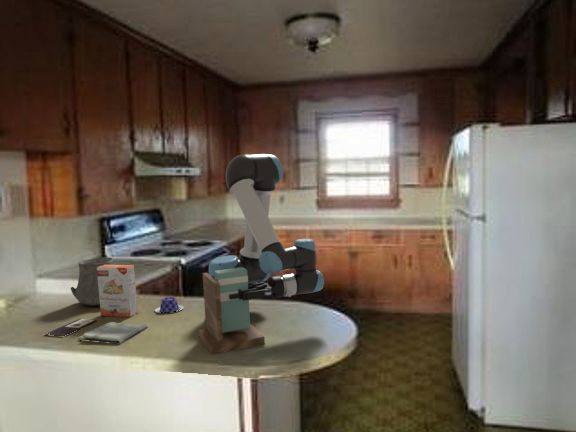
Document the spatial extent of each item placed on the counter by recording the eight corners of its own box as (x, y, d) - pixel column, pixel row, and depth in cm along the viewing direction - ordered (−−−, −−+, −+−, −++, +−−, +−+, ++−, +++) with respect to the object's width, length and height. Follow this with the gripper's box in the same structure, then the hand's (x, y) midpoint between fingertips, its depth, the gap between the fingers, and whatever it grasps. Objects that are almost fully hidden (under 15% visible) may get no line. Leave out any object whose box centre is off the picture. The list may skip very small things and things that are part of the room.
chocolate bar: (43, 334, 174) (78, 318, 191) (43, 337, 174) (79, 321, 191) (63, 336, 171) (97, 320, 188) (63, 338, 171) (97, 322, 188)
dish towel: (149, 328, 178) (149, 320, 178) (120, 346, 161) (119, 337, 161) (108, 326, 183) (107, 318, 183) (75, 342, 166) (74, 334, 166)
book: (217, 328, 160) (214, 270, 158) (245, 323, 164) (242, 267, 162) (221, 332, 156) (217, 273, 153) (250, 327, 159) (247, 269, 157)
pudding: (152, 309, 202) (151, 297, 202) (179, 304, 208) (179, 293, 207) (158, 316, 192) (157, 304, 191) (187, 311, 197) (186, 299, 197)
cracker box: (100, 316, 194) (95, 267, 192) (108, 312, 200) (104, 264, 198) (130, 318, 191) (126, 267, 188) (138, 313, 196) (134, 264, 194)
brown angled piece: (248, 327, 172) (244, 267, 170) (264, 344, 156) (261, 277, 154) (199, 336, 166) (195, 274, 163) (211, 354, 149) (207, 285, 147)
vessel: (80, 314, 199) (76, 267, 197) (69, 303, 217) (65, 260, 215) (131, 303, 212) (128, 259, 210) (116, 294, 230) (113, 253, 227)
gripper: (291, 303, 157) (224, 314, 149) (272, 290, 174) (211, 300, 165) (290, 281, 157) (223, 290, 148) (271, 270, 173) (209, 279, 164)
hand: (216, 295), depth 157 cm, fingers closed on book, 5 cm apart
